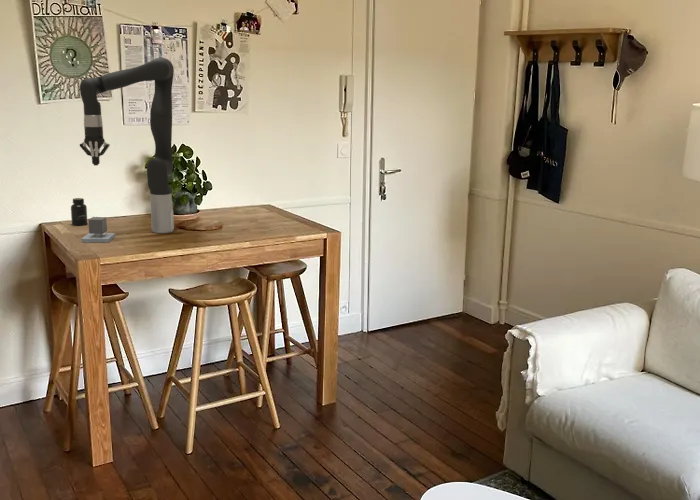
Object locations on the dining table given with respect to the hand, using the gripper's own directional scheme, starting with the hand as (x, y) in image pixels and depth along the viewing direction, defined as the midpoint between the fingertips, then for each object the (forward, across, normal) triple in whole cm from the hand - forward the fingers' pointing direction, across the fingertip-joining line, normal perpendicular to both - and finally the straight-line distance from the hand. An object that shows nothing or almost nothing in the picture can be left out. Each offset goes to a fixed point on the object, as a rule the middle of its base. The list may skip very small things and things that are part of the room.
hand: (96, 165), depth 310 cm
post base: (+29, -4, +18) cm, 35 cm away
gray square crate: (+26, -4, +18) cm, 32 cm away
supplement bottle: (+29, +12, -10) cm, 33 cm away
